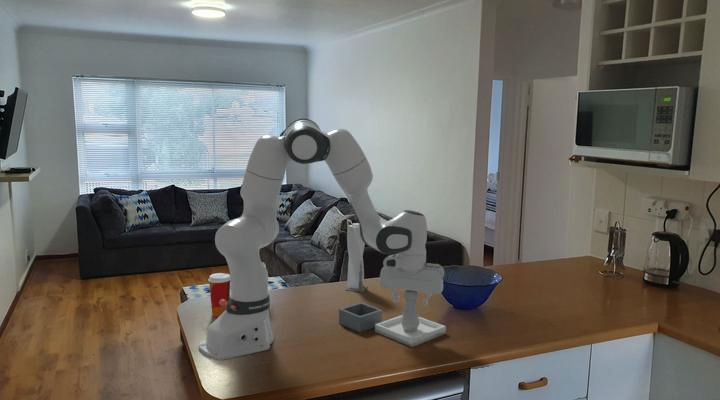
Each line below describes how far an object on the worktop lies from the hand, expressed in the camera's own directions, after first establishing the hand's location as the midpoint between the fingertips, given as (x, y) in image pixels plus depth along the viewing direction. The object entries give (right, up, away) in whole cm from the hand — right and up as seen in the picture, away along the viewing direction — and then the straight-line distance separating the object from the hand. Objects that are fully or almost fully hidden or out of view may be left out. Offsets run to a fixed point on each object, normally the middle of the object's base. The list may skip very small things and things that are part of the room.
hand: (410, 303), depth 176 cm
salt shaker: (0, -9, +1) cm, 9 cm away
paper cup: (-65, -7, +15) cm, 67 cm away
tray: (0, -10, +1) cm, 10 cm away
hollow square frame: (-16, -8, +8) cm, 20 cm away
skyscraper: (-18, -3, +47) cm, 50 cm away
